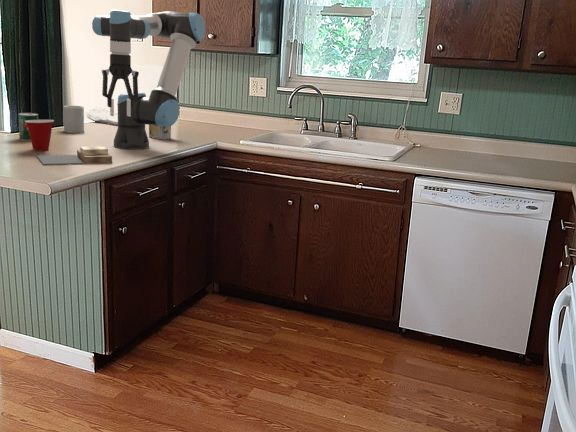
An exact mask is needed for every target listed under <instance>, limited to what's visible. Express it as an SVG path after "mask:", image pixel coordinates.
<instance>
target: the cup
mask: <svg viewBox="0 0 576 432" xmlns="http://www.w3.org/2000/svg"><path fill="white" fill-rule="evenodd" d="M84 110H85V107H84V106H81V105H63V131H64V132H65V133H70V134H82V133H85V111H84Z"/></svg>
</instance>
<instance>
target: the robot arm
mask: <svg viewBox="0 0 576 432" xmlns="http://www.w3.org/2000/svg"><path fill="white" fill-rule="evenodd" d="M91 24H92V25H91V26H92V30H93V32H94V34H95V35H97V36H101V37H110V38H109V52H110V54H109V67H108V68H106V69H102V70H101V74H102V90H101V91H102V93H101V94H102V97H105V98H106V100H107V103H106V104H107V107H108V108H109V112H110V116H114V113H115V99H114V98H113V94H114V91H115V87H116V84H117V82H118V80H123V82H124V86H125V89H126V92H127V93H122V94H119V95H118V97H117V103H116V104H117V113H118V125H117V129H116V131H115V132H116V133H115V135H114V139H113V147H115V148H118V149H119V148H120V149H128V150H142V149H148V148H149V147H150V140H149V136H148V134H147V131H146V125H148V126H149V125H155V126H160V127H163V126H164V127H169V126H171V127H172V126H174V125H175V123H176V122H177V121H178V119H179V116H180V113H181V112H180V104H179V102H178V98H177V93H178V89H179V86H180V82H181V80H182V77H183V74H184V70H185V67H186V64H187V61H188V59H189V55H190V53H191V50H192V49H195V47H196V46H197V43H198V42H202V41H203V40H204V39H205V36H206V35H205V34H206V25H205V20H204V19H203V17H202V16H201V14H199V13H198V12H197V13H196V12H192V11H190V12H183V11H173V10H172V11H168V10H167V11H161V12H152V13H148V14H145V15H132V14H131V12H130V11H128V10H120V9H119V10H118V9H117V10H116V9H111V11H110V12H109V16H108V15H96V16H94V18H93V19H92V23H91ZM149 36H151V37H160V38H164V39H165V38H166V39H170V40H171V43H170V47H169V49H168V53H167V56H166V59H165V62H164V65H163V67H162V71H161V73H160V75H159V79H158V82H157V85H156V87H155V89H154V88H153V89H152V90H151V91H150V94H149V96H147V94H146V93H145V92H139V83H138V82H139V81H138V77H139V75H140V73H139V71H137V70H134V69H132V67H131V65H132V64H131V63H132V62H131V61H132V60H131V58H132V57H131V55H130V54H131V52H132V50H131V49H132V47H131V45H132V43H131V42H132V41H131V39H137V40H142V39H147V38H148V37H149ZM110 74H111V76H112V77H111V82H110V85H108V81H109V78H108V76H109V75H110ZM130 75H131V76H132V87H131V84H130V83H131V82H130V79H129V76H130ZM108 86H109V88H108Z"/></svg>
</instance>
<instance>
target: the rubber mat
mask: <svg viewBox="0 0 576 432" xmlns="http://www.w3.org/2000/svg"><path fill="white" fill-rule="evenodd" d="M36 157H37V159H38V160H39V161H40V163H41V164H42V165H43V166H61V165H62V166H63V165H65V164H71V165H85V163H84V162H83V161H81V160H80V159H79V158H78V157H77V154H58V155H57V154H50V155H49V154H48V155H44V154H43V155H36Z"/></svg>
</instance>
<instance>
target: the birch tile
mask: <svg viewBox="0 0 576 432" xmlns="http://www.w3.org/2000/svg"><path fill="white" fill-rule="evenodd" d="M79 150H80V152H81V153H82V154H83V155H103V154H109V149H108V148H107V147H106V146H105V145H104V146H80V149H79Z"/></svg>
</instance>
